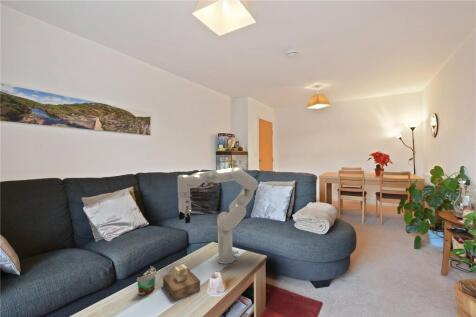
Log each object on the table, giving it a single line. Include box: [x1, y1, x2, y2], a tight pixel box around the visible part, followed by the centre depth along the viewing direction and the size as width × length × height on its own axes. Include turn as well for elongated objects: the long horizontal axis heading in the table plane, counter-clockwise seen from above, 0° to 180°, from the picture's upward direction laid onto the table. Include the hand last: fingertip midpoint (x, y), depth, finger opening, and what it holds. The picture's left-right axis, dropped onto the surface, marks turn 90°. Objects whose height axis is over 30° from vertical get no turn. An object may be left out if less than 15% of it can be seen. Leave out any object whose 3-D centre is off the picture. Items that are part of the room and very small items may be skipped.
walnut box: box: [162, 267, 201, 302], centre depth 120 cm, size 14×16×5 cm
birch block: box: [174, 263, 188, 282], centre depth 120 cm, size 5×5×6 cm
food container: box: [136, 265, 158, 297], centre depth 118 cm, size 12×6×10 cm, turn 168°
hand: (184, 221), depth 144 cm, fingers open, 9 cm apart
